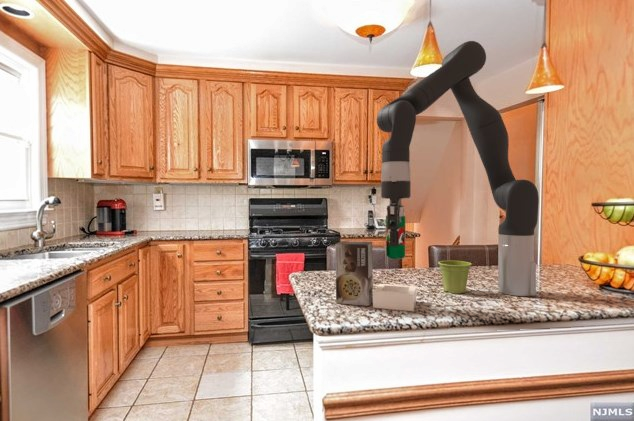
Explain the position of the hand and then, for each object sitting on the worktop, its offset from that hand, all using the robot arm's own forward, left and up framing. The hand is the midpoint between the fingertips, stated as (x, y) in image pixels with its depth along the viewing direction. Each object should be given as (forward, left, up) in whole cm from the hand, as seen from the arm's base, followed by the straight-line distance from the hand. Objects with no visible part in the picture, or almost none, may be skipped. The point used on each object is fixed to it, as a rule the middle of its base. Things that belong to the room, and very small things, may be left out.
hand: (395, 244), depth 95 cm
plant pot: (-15, -20, -16) cm, 30 cm away
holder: (0, 0, -16) cm, 16 cm away
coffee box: (+11, +1, -16) cm, 19 cm away
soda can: (0, 0, -4) cm, 4 cm away
